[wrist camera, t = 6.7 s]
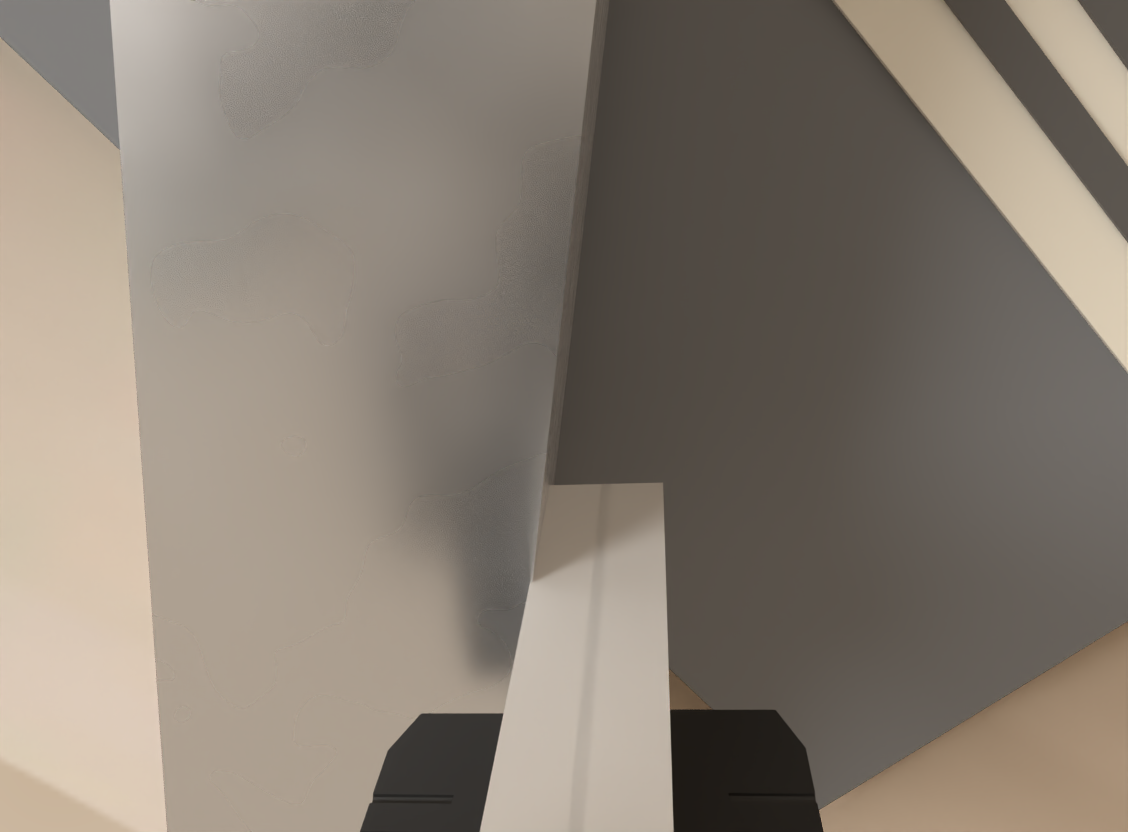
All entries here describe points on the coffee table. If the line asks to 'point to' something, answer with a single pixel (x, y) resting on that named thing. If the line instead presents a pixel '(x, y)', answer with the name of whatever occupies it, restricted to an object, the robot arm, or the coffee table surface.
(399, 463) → the swing bar
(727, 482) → the panel
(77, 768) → the coffee table surface
